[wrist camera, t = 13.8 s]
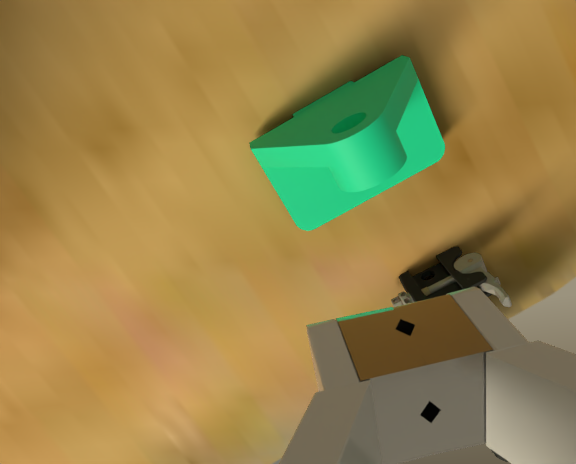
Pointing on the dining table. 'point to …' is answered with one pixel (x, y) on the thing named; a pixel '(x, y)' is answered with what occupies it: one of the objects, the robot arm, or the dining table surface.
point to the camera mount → (351, 144)
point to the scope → (451, 281)
